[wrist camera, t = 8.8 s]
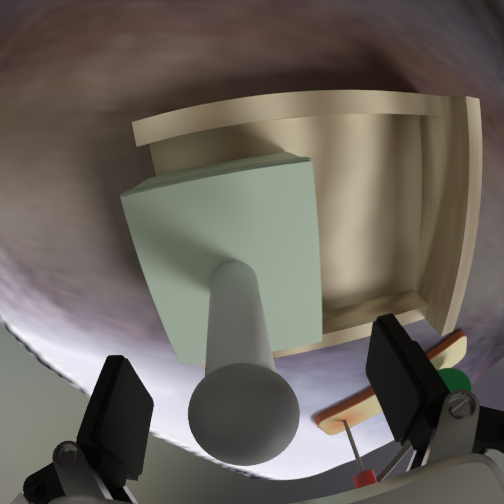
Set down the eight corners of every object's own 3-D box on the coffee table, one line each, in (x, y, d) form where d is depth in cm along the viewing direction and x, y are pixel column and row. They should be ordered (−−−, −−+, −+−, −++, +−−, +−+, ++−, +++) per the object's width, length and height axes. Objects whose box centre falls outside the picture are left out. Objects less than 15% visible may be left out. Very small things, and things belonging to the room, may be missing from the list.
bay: (423, 98, 19) (478, 98, 12) (417, 293, 27) (453, 331, 21) (148, 123, 18) (113, 121, 12) (205, 339, 27) (202, 394, 20)
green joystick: (288, 150, 19) (469, 233, 4) (303, 296, 24) (375, 477, 9) (147, 176, 19) (-20, 316, 4) (187, 316, 24) (165, 505, 9)
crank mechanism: (327, 430, 37) (357, 532, 20) (312, 416, 35) (344, 534, 17) (462, 350, 34) (522, 434, 16) (462, 326, 31) (535, 418, 14)
